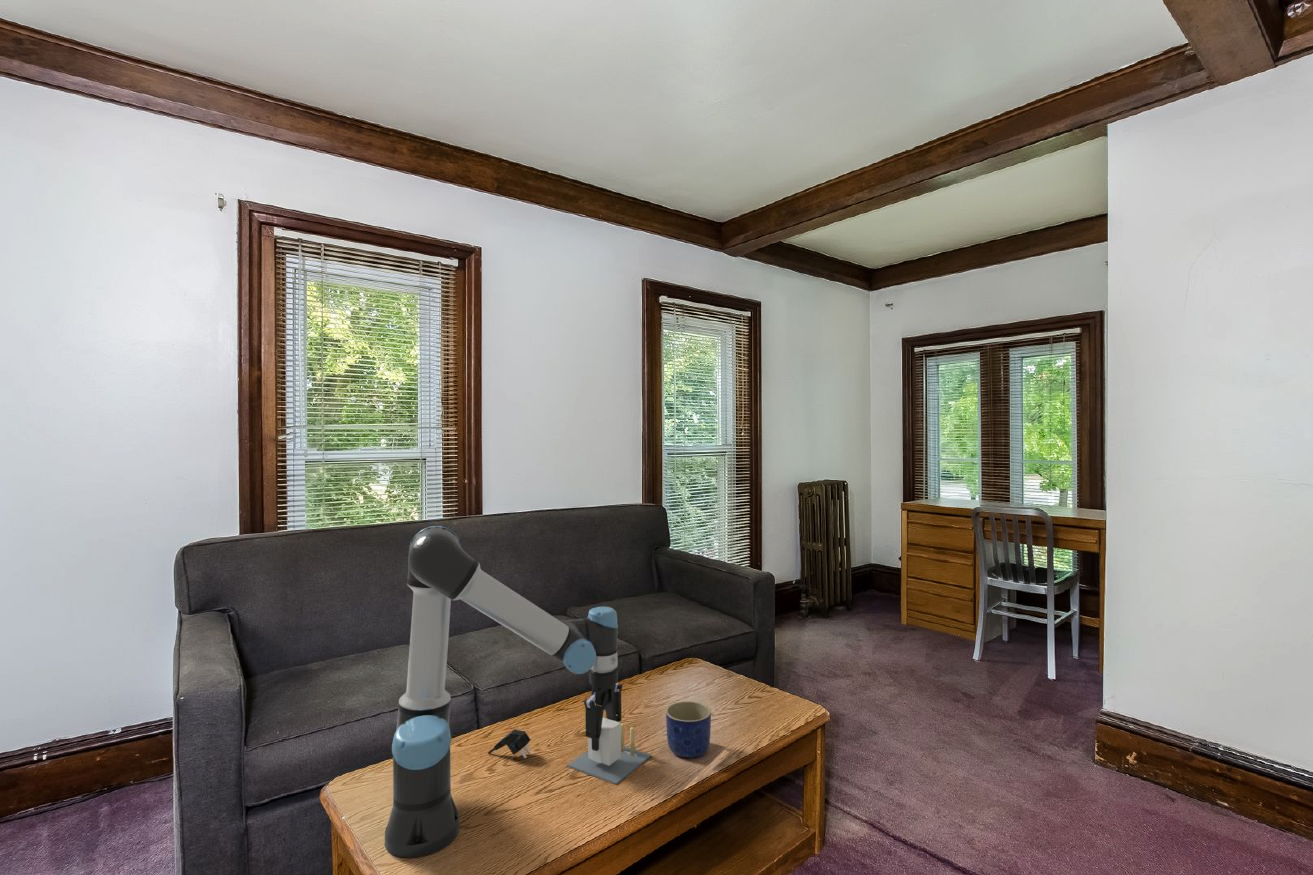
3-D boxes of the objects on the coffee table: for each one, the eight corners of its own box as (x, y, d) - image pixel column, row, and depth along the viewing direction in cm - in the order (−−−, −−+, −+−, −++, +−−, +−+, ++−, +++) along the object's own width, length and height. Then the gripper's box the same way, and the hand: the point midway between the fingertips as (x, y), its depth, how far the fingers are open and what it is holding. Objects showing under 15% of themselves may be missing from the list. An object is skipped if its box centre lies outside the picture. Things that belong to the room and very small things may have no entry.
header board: (616, 784, 152) (615, 754, 152) (567, 766, 160) (566, 738, 160) (651, 755, 165) (651, 728, 165) (604, 740, 174) (604, 714, 174)
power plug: (491, 745, 170) (523, 721, 168) (507, 768, 169) (539, 744, 167) (482, 755, 164) (514, 731, 162) (498, 779, 163) (531, 755, 161)
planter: (720, 749, 168) (720, 709, 168) (691, 767, 159) (691, 725, 159) (686, 734, 177) (685, 697, 177) (656, 751, 168) (656, 711, 168)
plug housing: (609, 765, 157) (609, 730, 157) (588, 757, 160) (587, 723, 160) (620, 756, 161) (620, 722, 161) (600, 749, 165) (599, 716, 165)
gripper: (593, 682, 151) (594, 776, 151) (634, 659, 166) (635, 745, 166) (569, 676, 155) (570, 767, 155) (612, 654, 170) (613, 738, 170)
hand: (604, 756), depth 161 cm, fingers closed on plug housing, 5 cm apart
